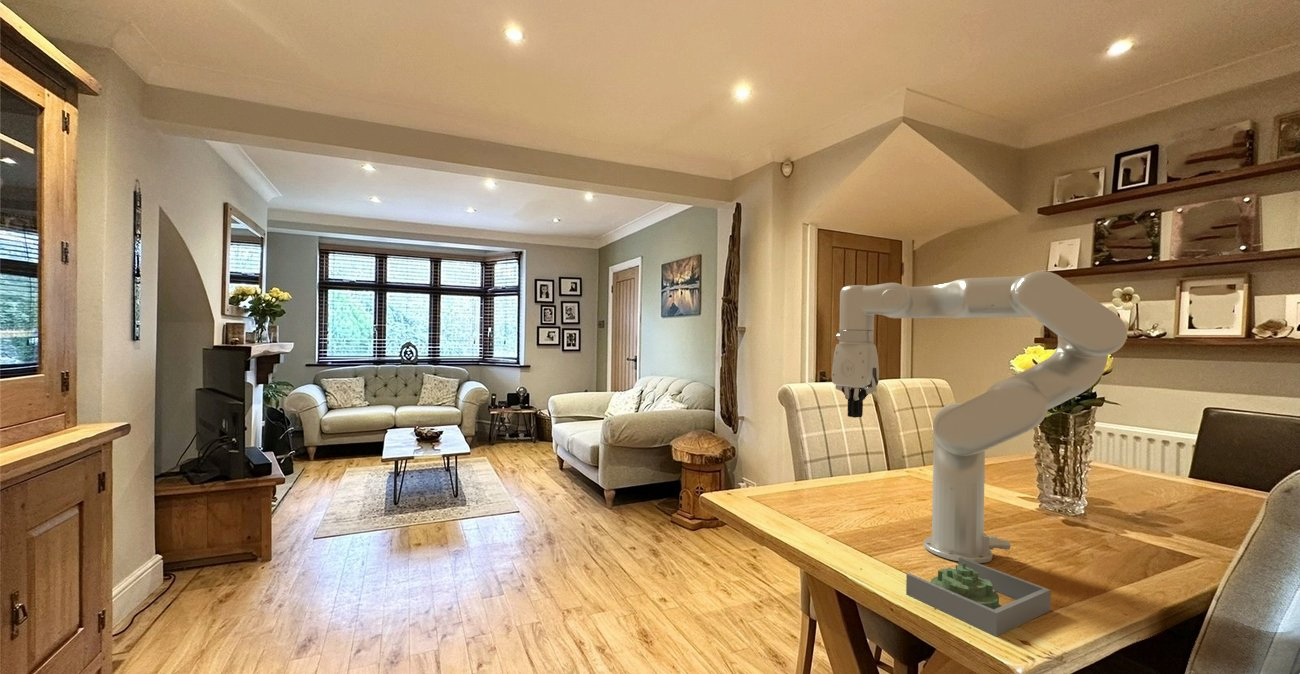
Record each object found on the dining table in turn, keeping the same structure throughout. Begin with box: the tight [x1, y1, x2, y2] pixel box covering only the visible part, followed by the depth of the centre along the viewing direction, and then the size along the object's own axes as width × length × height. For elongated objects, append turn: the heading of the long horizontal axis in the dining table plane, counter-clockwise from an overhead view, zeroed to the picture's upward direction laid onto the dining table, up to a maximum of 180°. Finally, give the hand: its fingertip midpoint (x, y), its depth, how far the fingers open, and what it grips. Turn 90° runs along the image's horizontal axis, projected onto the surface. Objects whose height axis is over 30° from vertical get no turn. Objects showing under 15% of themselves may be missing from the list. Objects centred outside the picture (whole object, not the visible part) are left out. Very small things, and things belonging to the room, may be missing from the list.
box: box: [905, 557, 1052, 637], centre depth 89 cm, size 15×17×4 cm
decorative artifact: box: [930, 562, 1000, 609], centre depth 88 cm, size 10×7×10 cm
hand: (854, 416), depth 121 cm, fingers closed
